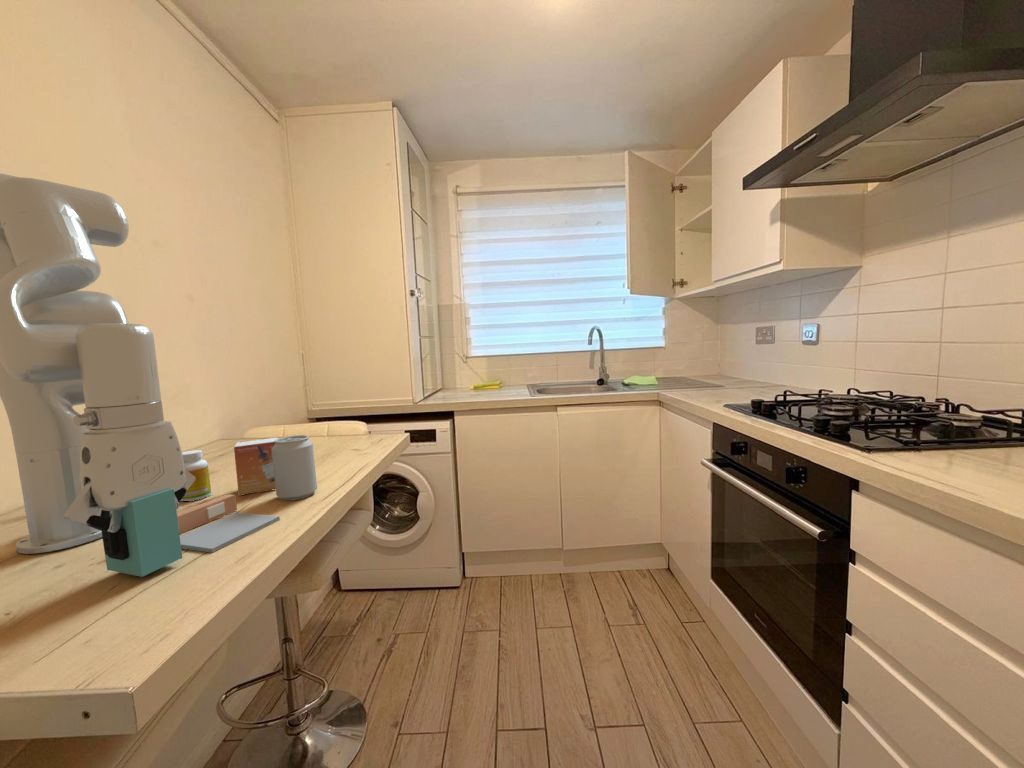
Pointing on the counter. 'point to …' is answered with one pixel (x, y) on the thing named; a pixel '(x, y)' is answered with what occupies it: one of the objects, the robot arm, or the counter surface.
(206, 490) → the supplement bottle
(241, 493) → the small box
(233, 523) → the mat
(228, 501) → the price rail
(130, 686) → the counter surface
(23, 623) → the counter surface
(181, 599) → the counter surface
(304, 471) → the can
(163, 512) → the carton block
